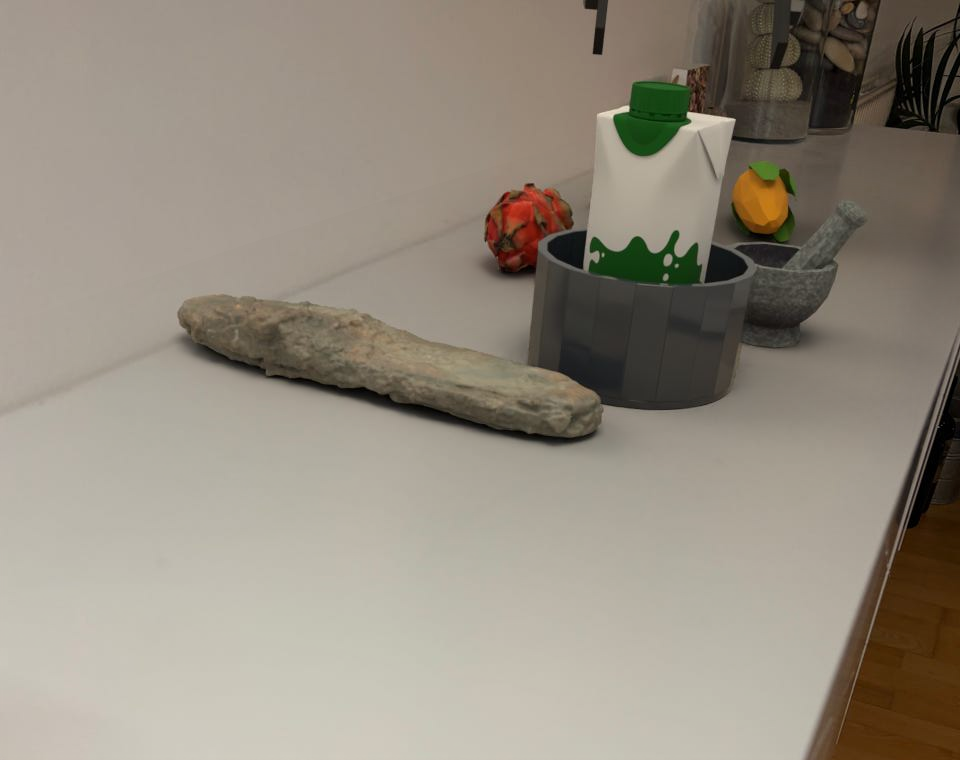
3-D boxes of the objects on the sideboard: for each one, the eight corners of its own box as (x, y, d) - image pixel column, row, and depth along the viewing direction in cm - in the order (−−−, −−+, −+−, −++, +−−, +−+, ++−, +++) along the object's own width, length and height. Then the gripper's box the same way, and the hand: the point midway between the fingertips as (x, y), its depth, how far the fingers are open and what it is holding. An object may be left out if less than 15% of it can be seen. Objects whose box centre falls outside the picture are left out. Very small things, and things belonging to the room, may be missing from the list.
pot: (748, 358, 91) (771, 248, 86) (710, 425, 78) (735, 300, 73) (563, 324, 95) (574, 217, 90) (498, 382, 82) (507, 261, 77)
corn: (794, 152, 132) (815, 184, 116) (785, 217, 136) (803, 257, 120) (733, 151, 133) (744, 182, 116) (725, 216, 137) (735, 255, 121)
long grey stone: (563, 481, 71) (614, 438, 79) (577, 405, 69) (629, 368, 77) (143, 343, 82) (225, 318, 90) (141, 273, 79) (226, 253, 87)
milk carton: (557, 364, 85) (588, 79, 74) (605, 336, 91) (641, 70, 80) (660, 391, 81) (710, 97, 70) (703, 360, 88) (754, 86, 77)
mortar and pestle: (704, 344, 93) (731, 197, 86) (709, 313, 101) (735, 175, 94) (837, 362, 91) (876, 214, 85) (832, 329, 99) (867, 191, 92)
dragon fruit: (557, 271, 115) (505, 315, 107) (500, 212, 114) (443, 252, 106) (605, 214, 109) (554, 256, 101) (545, 151, 108) (489, 188, 100)
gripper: (853, -130, 89) (839, 96, 85) (551, -152, 90) (523, 70, 86) (884, -219, 82) (871, 24, 78) (554, -241, 83) (525, -3, 79)
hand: (688, 49), depth 82 cm, fingers open, 13 cm apart
